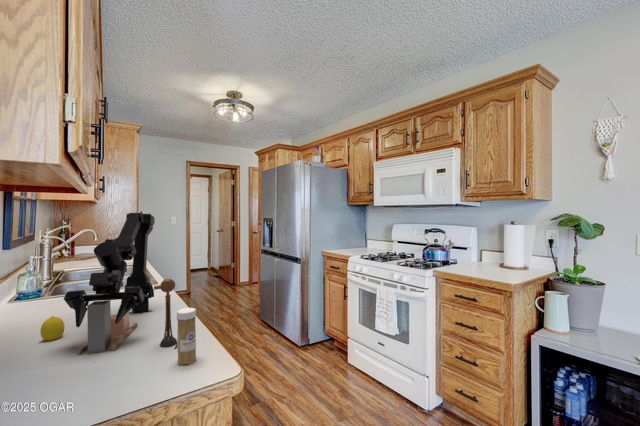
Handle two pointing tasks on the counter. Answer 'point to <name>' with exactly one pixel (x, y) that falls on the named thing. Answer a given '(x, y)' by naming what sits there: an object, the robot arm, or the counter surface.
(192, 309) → the sprinkles bottle
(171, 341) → the wooden tabletop sculpture
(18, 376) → the counter surface
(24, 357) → the counter surface
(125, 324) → the terracotta block
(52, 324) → the lemon
